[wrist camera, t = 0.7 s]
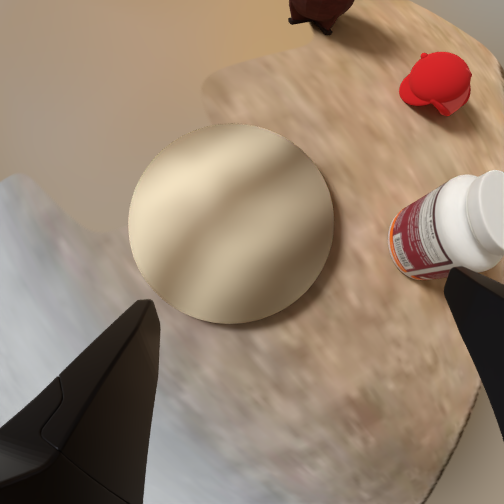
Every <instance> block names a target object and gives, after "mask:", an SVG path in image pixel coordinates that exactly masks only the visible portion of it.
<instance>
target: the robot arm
mask: <svg viewBox="0 0 504 504" xmlns="http://www.w3.org/2000/svg"><path fill="white" fill-rule="evenodd" d="M444 295H445V298H446V300H447V303H448V305H449V307H450V310H451V312H452V315H453V317H454V320H455V322H456V325H457V327H458V330H459V332H460V334H461V337H462V339H463V341H464V343H465V345H466V347H467V349H468V351H469V353H470V356H471V358H472V360H473V362H474V364H475V367H476V369H477V371H478V374H479V376H480V378H481V381H482V383H483V385H484V388H485V390H486V393H487V395H488V398H489V400H490V403H491V405H492V408H493V411H494V414H495V417H496V419H497V422H498V425H499V428H500V431H501V434H502V437H503V441H504V285H503V284H501V283H499V282H497V281H495V280H492V279H490V278H488V277H486V276H484V275H481V274H479V273H477V272H475V271H473V270H470V269H468V268H466V267H463V266H457V267H452V268H451V269H450V271H449V274H448V277H447V281H446V284H445V287H444ZM159 347H160V321H159V318H158V315H157V312H156V308H155V305H154V302H153V301H152V300H151V299H144V300H137V301H136V302H135V303H134V304H133V305H132V306H131V307H129V308H128V309H127V310H126V311H125V312H124V313H123V314H122V315H121V316H120V317H119V318H118V319H117V320H115V321H114V322H113V323H112V324H111V325H110V326H109V327H108V328H107V329H106V330H105V331H104V332H103V333H102V334H101V335H100V336H98V337H97V338H96V339H95V340H94V341H93V342H92V343H91V344H90V345H89V346H88V347H87V348H86V349H85V350H84V351H83V352H82V353H81V354H80V355H79V356H78V357H77V358H76V359H75V360H74V361H73V362H71V363H70V364H69V365H68V366H67V367H66V368H65V369H64V370H63V371H62V372H61V373H60V374H59V376H57V377H56V378H55V379H54V380H53V381H52V382H51V383H50V384H49V385H48V386H47V387H46V388H45V389H44V390H43V391H42V392H41V393H40V394H39V395H38V396H37V397H36V398H34V399H33V400H32V401H31V402H30V403H29V404H28V405H26V406H25V407H24V408H23V409H22V410H21V411H20V412H18V413H17V414H16V415H15V416H14V417H13V418H11V419H10V420H9V421H8V422H7V423H6V424H4V425H3V426H2V427H1V428H0V504H143V495H144V484H145V474H146V464H147V455H148V446H149V438H150V430H151V422H152V415H153V408H154V401H155V394H156V388H157V381H158V370H159Z"/></svg>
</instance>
